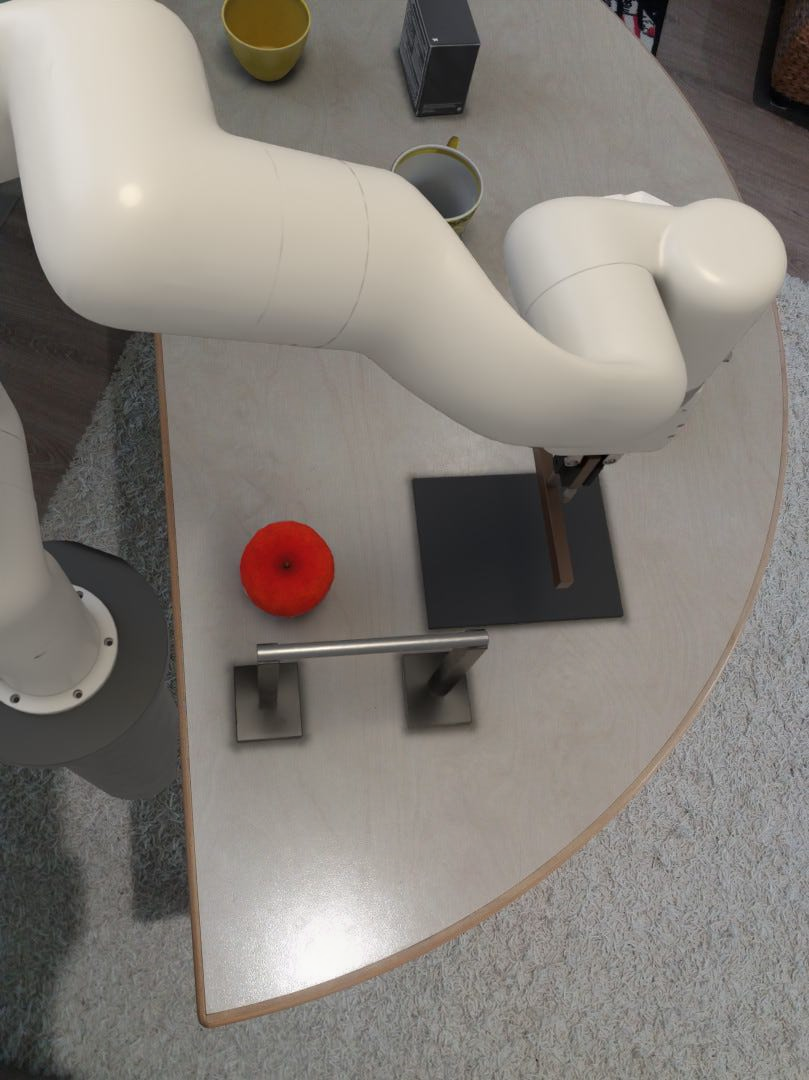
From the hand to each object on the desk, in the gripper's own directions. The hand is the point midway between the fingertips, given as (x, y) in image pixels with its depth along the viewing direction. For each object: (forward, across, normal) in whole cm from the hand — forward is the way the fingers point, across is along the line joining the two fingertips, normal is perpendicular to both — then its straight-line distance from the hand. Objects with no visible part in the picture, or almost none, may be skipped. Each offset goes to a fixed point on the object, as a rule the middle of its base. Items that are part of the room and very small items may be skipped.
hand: (572, 470), depth 81 cm
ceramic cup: (+20, +5, -39) cm, 44 cm away
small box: (+20, +2, -61) cm, 64 cm away
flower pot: (+20, +22, -63) cm, 70 cm away
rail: (+19, +18, +14) cm, 30 cm away
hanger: (+2, 0, 0) cm, 2 cm away
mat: (+20, 0, 0) cm, 20 cm away
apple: (+20, +24, +3) cm, 31 cm away
